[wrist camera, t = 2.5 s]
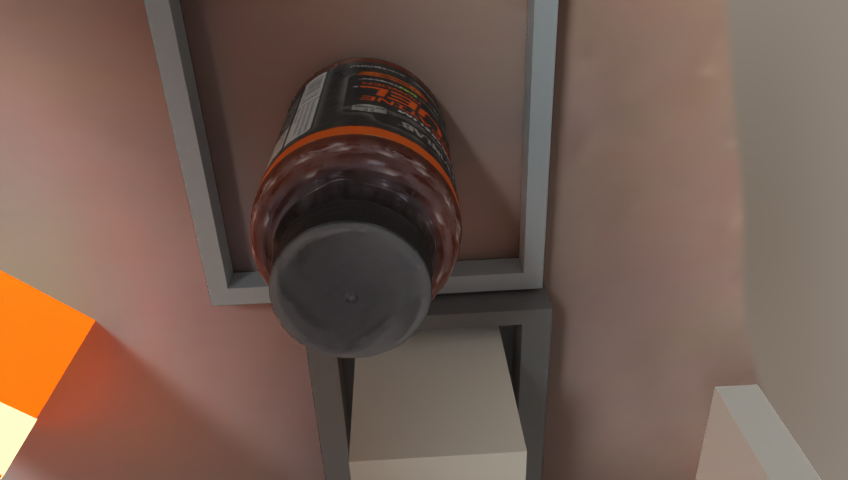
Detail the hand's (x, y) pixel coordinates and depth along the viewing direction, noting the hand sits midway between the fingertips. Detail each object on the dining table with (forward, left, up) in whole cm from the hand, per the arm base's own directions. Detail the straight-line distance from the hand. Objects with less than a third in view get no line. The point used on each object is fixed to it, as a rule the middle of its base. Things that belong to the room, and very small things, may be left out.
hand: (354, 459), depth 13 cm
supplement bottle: (0, 0, -16) cm, 16 cm away
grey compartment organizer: (+16, +2, -16) cm, 23 cm away
